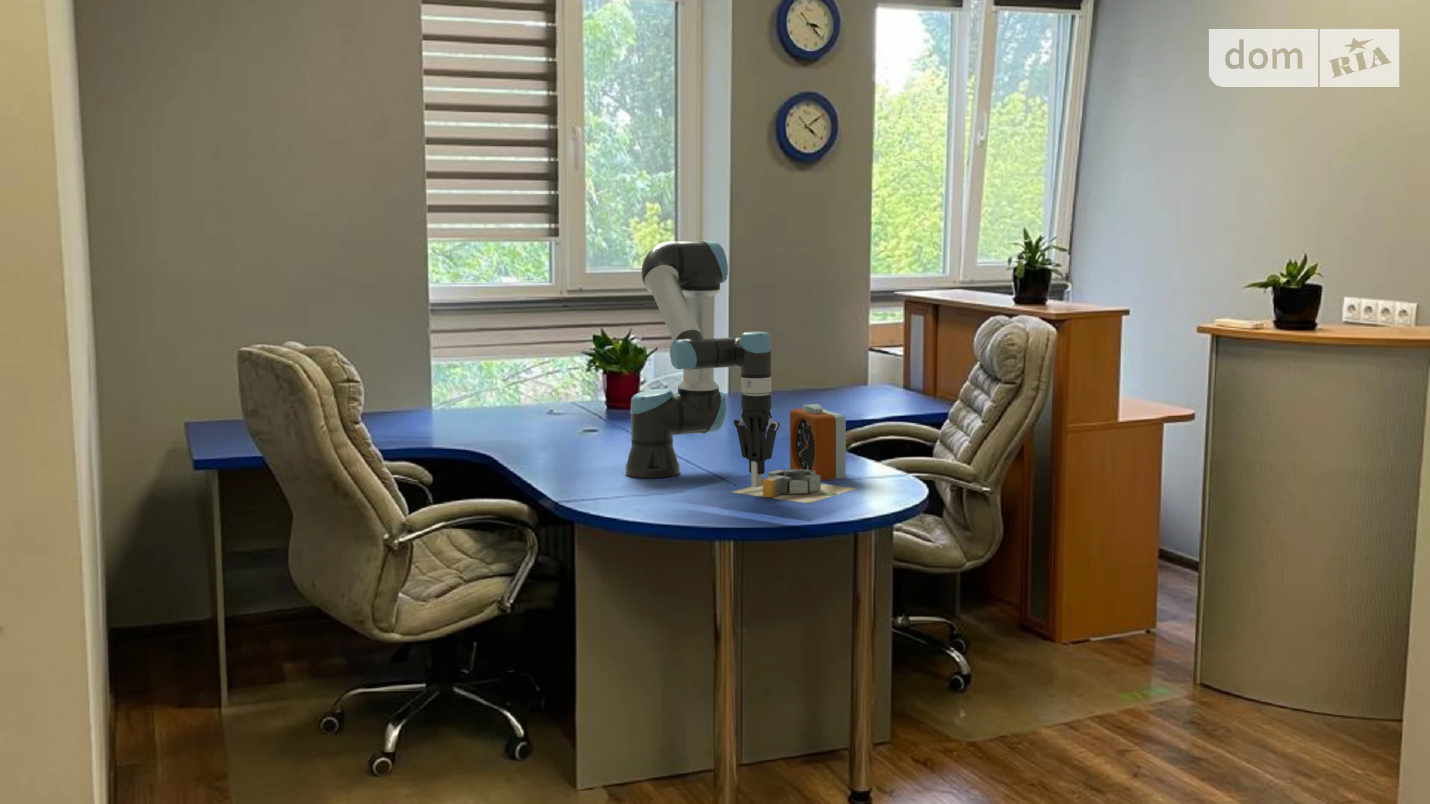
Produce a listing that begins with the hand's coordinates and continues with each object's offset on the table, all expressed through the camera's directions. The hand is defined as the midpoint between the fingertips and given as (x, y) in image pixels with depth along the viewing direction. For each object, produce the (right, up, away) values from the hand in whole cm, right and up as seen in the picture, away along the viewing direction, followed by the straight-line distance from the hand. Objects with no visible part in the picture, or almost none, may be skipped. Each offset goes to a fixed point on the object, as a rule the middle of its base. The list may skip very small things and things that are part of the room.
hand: (757, 486), depth 340 cm
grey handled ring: (+8, -1, +3) cm, 9 cm away
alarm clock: (+17, 0, +28) cm, 33 cm away
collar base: (+10, -3, +5) cm, 11 cm away
